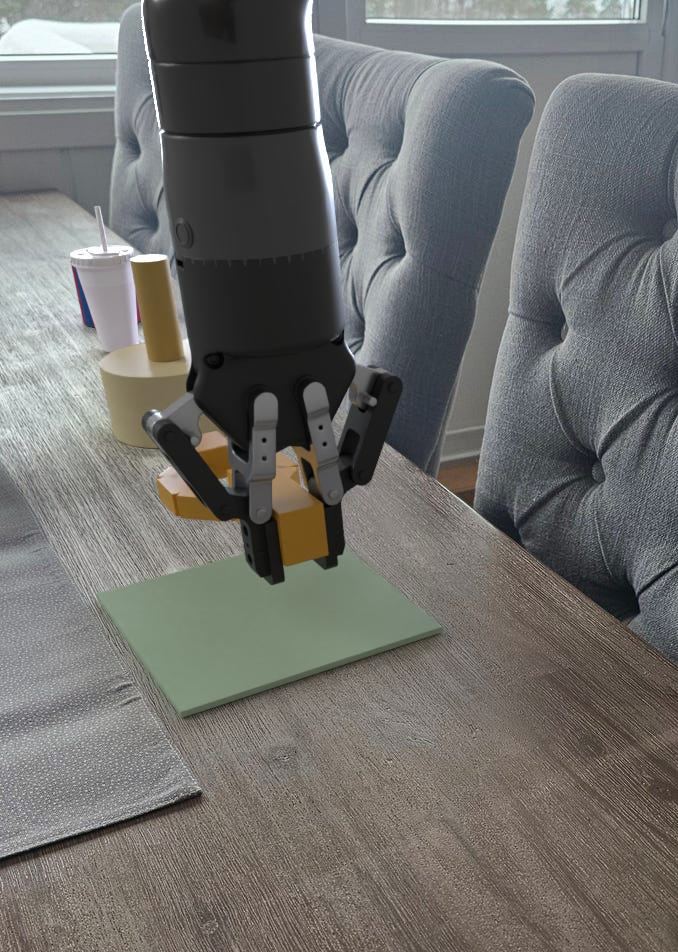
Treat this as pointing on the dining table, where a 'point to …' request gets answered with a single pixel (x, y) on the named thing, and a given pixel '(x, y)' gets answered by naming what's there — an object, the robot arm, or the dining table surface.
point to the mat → (258, 626)
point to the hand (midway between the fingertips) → (297, 569)
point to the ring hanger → (290, 501)
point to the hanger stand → (149, 357)
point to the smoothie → (109, 290)
